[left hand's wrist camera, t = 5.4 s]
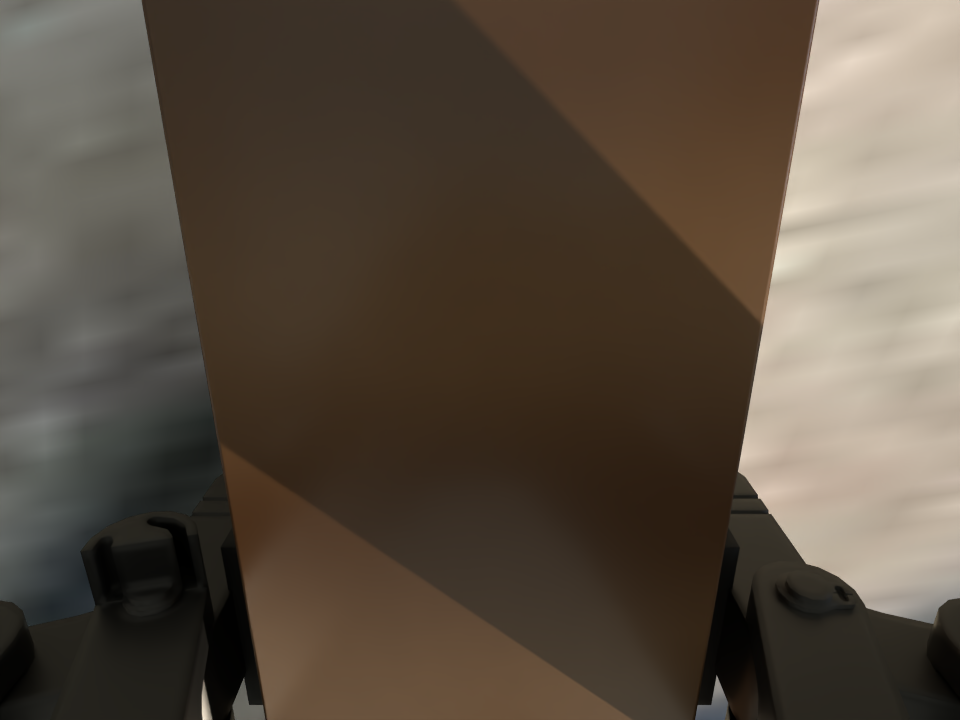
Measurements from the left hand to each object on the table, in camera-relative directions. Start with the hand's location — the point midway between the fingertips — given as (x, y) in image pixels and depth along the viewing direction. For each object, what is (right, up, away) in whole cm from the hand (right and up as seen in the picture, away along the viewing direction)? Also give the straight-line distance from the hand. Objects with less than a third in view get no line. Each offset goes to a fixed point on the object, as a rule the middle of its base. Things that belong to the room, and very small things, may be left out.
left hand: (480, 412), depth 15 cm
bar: (0, -28, +12) cm, 30 cm away
